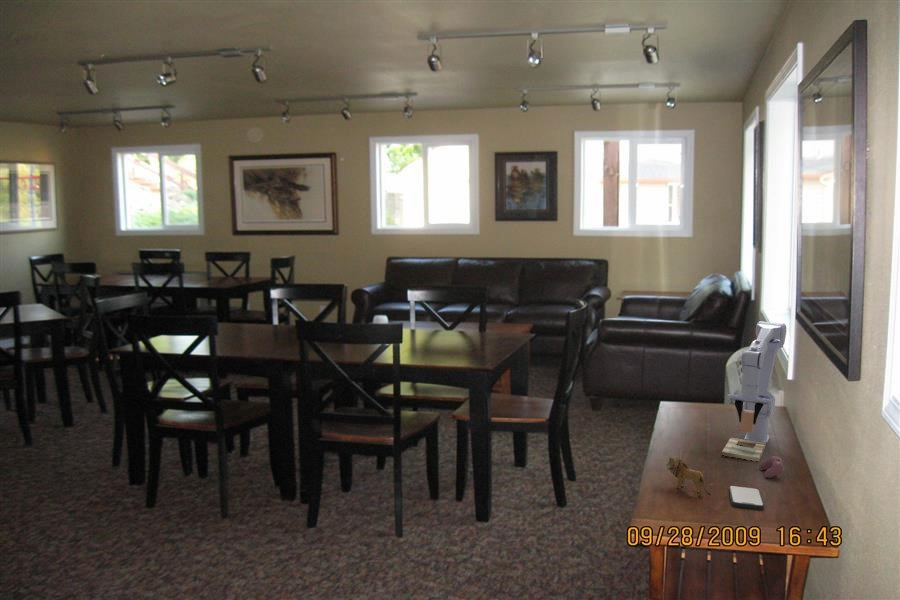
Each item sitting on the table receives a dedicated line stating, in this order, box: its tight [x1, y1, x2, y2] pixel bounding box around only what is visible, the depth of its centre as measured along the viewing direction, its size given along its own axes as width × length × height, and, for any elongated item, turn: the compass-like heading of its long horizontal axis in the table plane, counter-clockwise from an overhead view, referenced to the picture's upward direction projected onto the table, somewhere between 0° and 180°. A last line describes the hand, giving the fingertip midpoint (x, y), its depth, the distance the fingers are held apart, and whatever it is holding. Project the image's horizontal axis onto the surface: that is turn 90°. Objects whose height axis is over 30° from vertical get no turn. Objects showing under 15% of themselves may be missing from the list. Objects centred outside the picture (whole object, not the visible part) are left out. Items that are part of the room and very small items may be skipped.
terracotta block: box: [739, 408, 754, 433], centre depth 288 cm, size 4×4×7 cm
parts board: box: [721, 437, 767, 462], centre depth 286 cm, size 20×12×2 cm, turn 153°
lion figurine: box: [665, 456, 712, 498], centre depth 244 cm, size 15×5×9 cm, turn 44°
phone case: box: [728, 485, 765, 511], centre depth 239 cm, size 9×2×16 cm
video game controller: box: [759, 455, 784, 479], centre depth 262 cm, size 10×5×7 cm, turn 169°
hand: (747, 422), depth 288 cm, fingers closed on terracotta block, 4 cm apart
